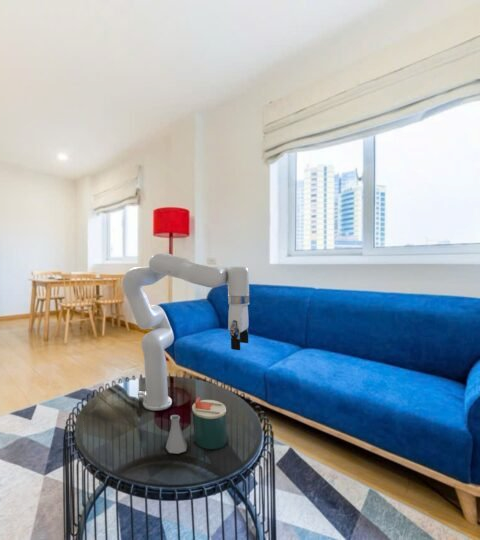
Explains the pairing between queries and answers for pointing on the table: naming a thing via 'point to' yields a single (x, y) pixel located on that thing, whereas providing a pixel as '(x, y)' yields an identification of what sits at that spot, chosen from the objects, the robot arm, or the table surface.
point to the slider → (202, 405)
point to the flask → (176, 437)
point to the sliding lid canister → (210, 425)
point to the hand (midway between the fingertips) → (240, 346)
